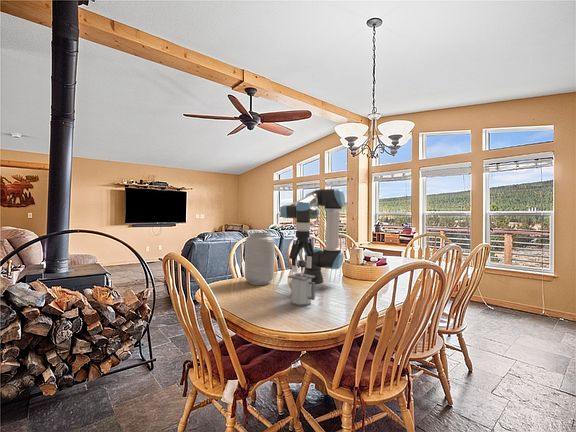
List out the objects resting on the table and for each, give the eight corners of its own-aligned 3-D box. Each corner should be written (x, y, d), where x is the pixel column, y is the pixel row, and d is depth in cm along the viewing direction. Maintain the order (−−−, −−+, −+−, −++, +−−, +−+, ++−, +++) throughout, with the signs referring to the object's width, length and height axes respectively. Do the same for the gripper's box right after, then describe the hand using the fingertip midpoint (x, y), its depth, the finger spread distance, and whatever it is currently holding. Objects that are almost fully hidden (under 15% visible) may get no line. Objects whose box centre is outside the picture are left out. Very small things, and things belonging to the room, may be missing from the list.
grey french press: (298, 298, 171) (299, 272, 170) (319, 304, 162) (319, 276, 162) (287, 303, 162) (287, 276, 162) (308, 308, 154) (308, 280, 154)
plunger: (299, 289, 168) (300, 259, 167) (310, 291, 164) (310, 260, 163) (292, 291, 163) (293, 260, 162) (302, 294, 158) (303, 262, 158)
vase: (279, 281, 209) (280, 233, 208) (262, 288, 192) (263, 235, 191) (256, 277, 219) (257, 231, 218) (238, 283, 202) (239, 233, 201)
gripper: (309, 229, 174) (308, 265, 175) (282, 231, 155) (281, 272, 155) (320, 229, 170) (319, 267, 170) (294, 232, 150) (293, 274, 151)
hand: (301, 269), depth 163 cm, fingers open, 13 cm apart
